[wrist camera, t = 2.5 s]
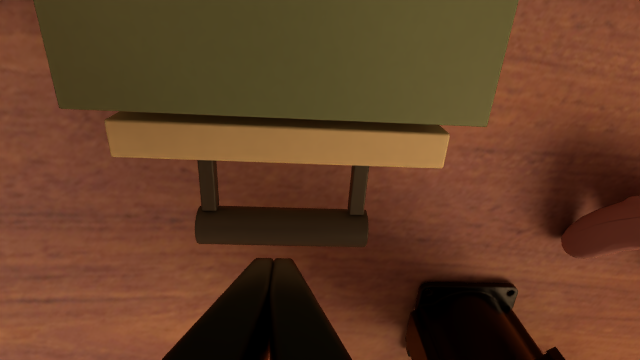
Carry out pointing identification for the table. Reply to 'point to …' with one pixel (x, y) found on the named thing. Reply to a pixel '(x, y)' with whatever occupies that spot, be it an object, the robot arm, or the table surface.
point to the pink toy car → (605, 231)
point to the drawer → (277, 147)
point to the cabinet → (280, 57)
